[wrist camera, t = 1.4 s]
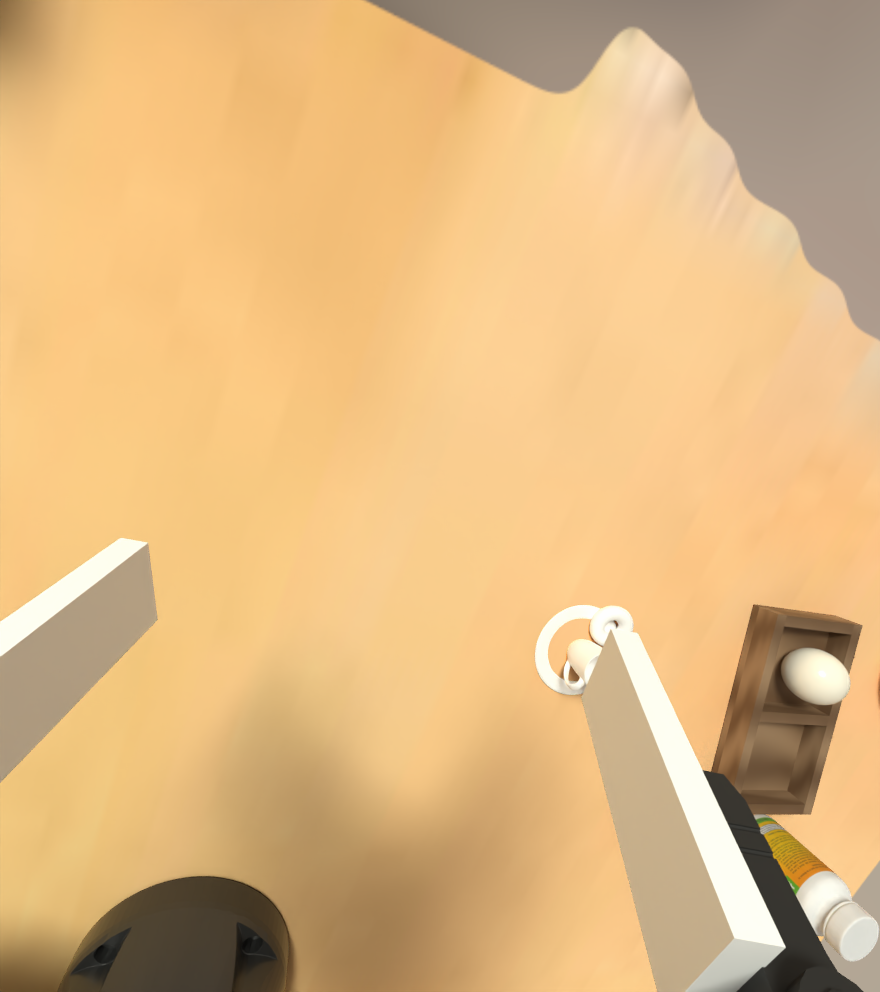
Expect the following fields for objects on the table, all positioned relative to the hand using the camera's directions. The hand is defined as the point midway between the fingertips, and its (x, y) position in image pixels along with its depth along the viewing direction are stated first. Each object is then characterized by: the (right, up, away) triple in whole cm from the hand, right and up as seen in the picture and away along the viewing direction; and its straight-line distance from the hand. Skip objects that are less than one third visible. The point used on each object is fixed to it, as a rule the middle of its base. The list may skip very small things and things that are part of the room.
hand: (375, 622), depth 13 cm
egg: (+35, -12, +30) cm, 48 cm away
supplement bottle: (+33, -31, +33) cm, 56 cm away
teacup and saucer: (+16, -10, +27) cm, 33 cm away
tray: (+34, -17, +31) cm, 49 cm away
